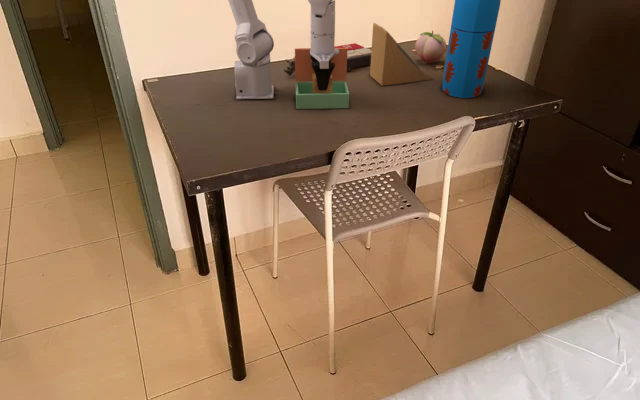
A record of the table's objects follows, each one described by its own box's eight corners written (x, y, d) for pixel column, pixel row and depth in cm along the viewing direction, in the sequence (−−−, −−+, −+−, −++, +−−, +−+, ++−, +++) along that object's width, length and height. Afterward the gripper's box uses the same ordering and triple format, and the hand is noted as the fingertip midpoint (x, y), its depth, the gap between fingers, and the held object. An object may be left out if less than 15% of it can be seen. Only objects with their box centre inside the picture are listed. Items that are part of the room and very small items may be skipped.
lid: (347, 48, 126) (346, 42, 129) (294, 49, 126) (294, 43, 129) (346, 80, 132) (344, 74, 135) (295, 81, 131) (295, 75, 134)
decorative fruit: (449, 64, 154) (454, 31, 148) (433, 70, 149) (438, 36, 144) (424, 56, 160) (428, 24, 154) (408, 62, 155) (412, 29, 149)
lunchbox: (348, 108, 128) (349, 94, 125) (296, 109, 127) (296, 94, 125) (345, 95, 134) (346, 81, 132) (295, 95, 134) (295, 82, 131)
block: (313, 94, 126) (313, 78, 124) (312, 89, 129) (312, 73, 127) (332, 93, 126) (332, 78, 124) (331, 89, 129) (331, 73, 127)
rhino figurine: (279, 77, 144) (278, 56, 141) (314, 66, 152) (314, 46, 148) (288, 81, 142) (287, 60, 138) (324, 69, 149) (324, 49, 146)
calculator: (378, 51, 152) (338, 58, 144) (376, 65, 154) (337, 73, 147) (355, 41, 159) (316, 48, 152) (354, 55, 162) (316, 62, 154)
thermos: (433, 86, 139) (447, -10, 125) (463, 80, 144) (480, -14, 129) (459, 101, 132) (477, 0, 117) (490, 93, 136) (511, -4, 121)
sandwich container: (431, 79, 144) (438, 26, 135) (382, 86, 139) (386, 31, 131) (416, 69, 150) (423, 17, 142) (369, 75, 146) (373, 22, 138)
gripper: (342, 41, 113) (340, 97, 121) (336, 22, 125) (335, 75, 133) (311, 41, 113) (311, 98, 121) (308, 23, 125) (308, 75, 133)
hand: (322, 86), depth 127 cm, fingers closed on block, 4 cm apart
